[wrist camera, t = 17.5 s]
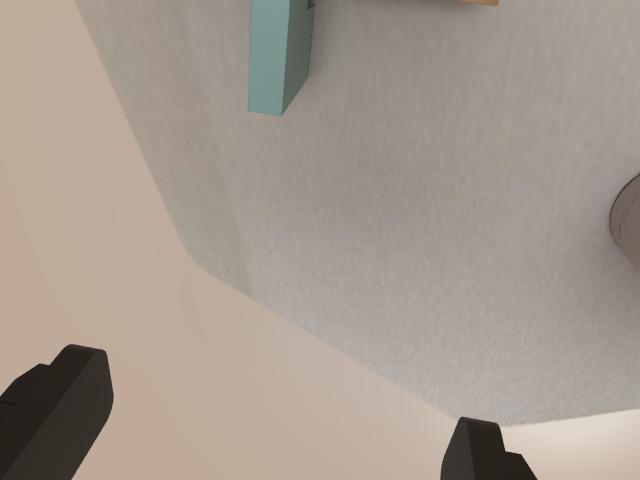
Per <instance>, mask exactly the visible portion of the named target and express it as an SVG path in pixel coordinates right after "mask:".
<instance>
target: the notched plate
mask: <svg viewBox="0 0 640 480" xmlns="http://www.w3.org/2000/svg"><path fill="white" fill-rule="evenodd" d="M314 7H315V5H312V4H308V0H252V8H251V36H250V63H249V91H248V111H250V112H256V113H263V114H269V115H276V116H282V115H283V113H284V112H285V110H286V109H287V107H288V106H289V104H290V103H291V101H292V100H293V98H294V97H295V95H296V94H297V92H298V91H299V89H300V88H301V86H302V85H303V83H304V82H305V80H306V79H307V78H308V68H309V57H310V47H311V37H312V27H313V17H314Z"/></svg>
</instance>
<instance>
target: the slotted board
mask: <svg viewBox="0 0 640 480" xmlns="http://www.w3.org/2000/svg"><path fill="white" fill-rule="evenodd" d="M456 1H464V2H471V3H478V4H486V5H493V6H497V5H498V2H499V0H456Z"/></svg>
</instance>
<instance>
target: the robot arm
mask: <svg viewBox="0 0 640 480" xmlns="http://www.w3.org/2000/svg"><path fill="white" fill-rule="evenodd" d="M610 227H611V233H612V236H613V238H614V240H615V242H616V243H617V245H618V246H619V247H620V249H621V250H622V251H623V253H624V254H625V255H626V257H627V258H628V259H629V261H630V262H631V263H632V265H633V266H634V267H635V269H636V270H637V272H638V273H639V274H640V175H639V176H638V177H637V178H635V179H634V180H633V181H631V182H630V183H629V185H628V186H627V187H626V188H625V189H624V190H623V191H622V192H621V194H620V195H619V197H618V199H617V200H616V202H615V204H614V207H613V210H612V212H611V219H610ZM112 405H113V388H112V383H111V376H110V370H109V364H108V358H107V354H106V352H105V351H104V350H102V349H96V348H91V347H85V346H80V345H74V344H70V345H68V346H66V347H65V348H64V349H63V350H62V351H61V352H60V353H59V355H58V356H57V357H56V358H55V359H54V361H53V362H52V363H51V364H50V365H45V364H38V365H36V366H35V367H33V368H32V369H30V370H29V371H27V372H26V373H25V374H23V375H21V376H20V377H18V378H17V379H15V380H14V381H13V382H12V384H11V385H10V386H9V387H8V388H7V389H6V390H5V392H4V393H3V394H2V395H1V396H0V480H71V479H72V478H73V476H74V474H75V473H76V471H77V469H78V468H79V466H80V465H81V463H82V461H83V459H84V458H85V456H86V455H87V453H88V451H89V450H90V448H91V446H92V445H93V443H94V441H95V440H96V438H97V437H98V435H99V433H100V432H101V430H102V428H103V427H104V425H105V423H106V422H107V420H108V418H109V415H110V412H111V409H112ZM440 480H537V478H536V477H535V475H534V473H533V472H532V471H531V469H530V467H529V466H528V464H527V463H526V461H525V460H524V458H523V457H522V455H521V454H517V453H512V452H506V451H505V448H504V443H503V439H502V434H501V430H500V427H499V425H498V424H497V423H494V422H489V421H483V420H478V419H472V418H467V417H461V418H460V419H459V421H458V423H457V426H456V428H455V431H454V434H453V436H452V438H451V441H450V443H449V445H448V448H447V450H446V453H445V455H444V458H443V462H442V467H441V478H440Z"/></svg>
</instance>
